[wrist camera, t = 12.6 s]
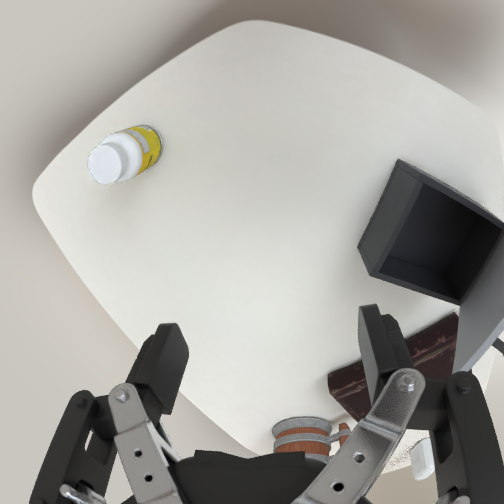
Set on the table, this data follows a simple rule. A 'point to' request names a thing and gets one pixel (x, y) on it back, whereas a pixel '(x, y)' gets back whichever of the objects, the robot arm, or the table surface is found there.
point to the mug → (308, 437)
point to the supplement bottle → (125, 154)
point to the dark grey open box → (429, 236)
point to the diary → (423, 357)
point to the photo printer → (422, 459)
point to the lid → (482, 315)
